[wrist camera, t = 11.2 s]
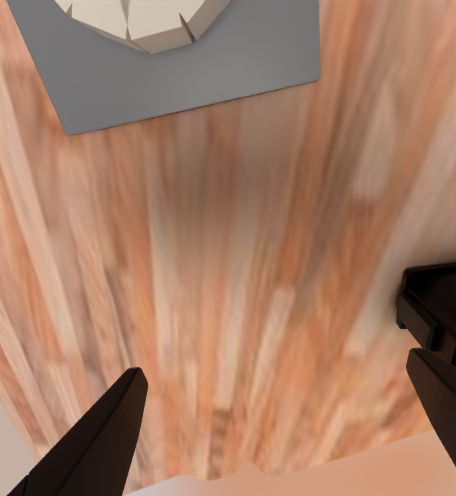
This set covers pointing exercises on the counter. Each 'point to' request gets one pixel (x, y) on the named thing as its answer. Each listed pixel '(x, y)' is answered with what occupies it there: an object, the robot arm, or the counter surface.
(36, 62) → the bottle holder
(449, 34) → the counter surface
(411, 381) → the robot arm
